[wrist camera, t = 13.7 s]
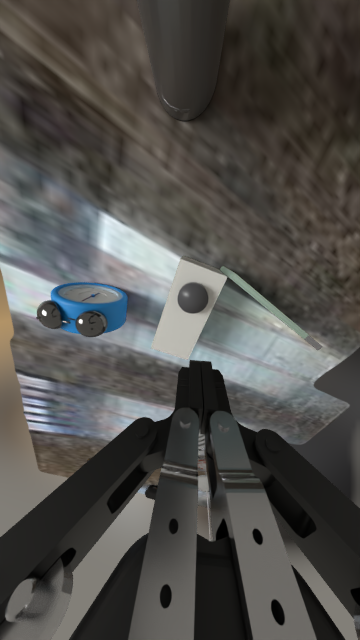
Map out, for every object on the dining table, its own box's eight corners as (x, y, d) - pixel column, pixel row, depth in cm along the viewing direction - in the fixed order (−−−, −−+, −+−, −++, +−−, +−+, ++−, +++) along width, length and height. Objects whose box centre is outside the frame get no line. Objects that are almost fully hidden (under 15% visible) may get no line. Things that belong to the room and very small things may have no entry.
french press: (217, 441, 61) (232, 556, 38) (187, 442, 62) (186, 553, 40) (215, 425, 57) (231, 543, 34) (183, 426, 58) (179, 540, 36)
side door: (219, 269, 34) (230, 278, 25) (222, 265, 33) (234, 272, 24) (287, 325, 38) (317, 350, 29) (291, 322, 38) (322, 346, 29)
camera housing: (183, 255, 33) (179, 259, 23) (217, 268, 34) (229, 278, 24) (159, 325, 41) (149, 352, 30) (188, 335, 42) (187, 365, 31)
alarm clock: (136, 291, 37) (105, 316, 24) (133, 314, 40) (104, 348, 26) (81, 278, 37) (17, 296, 23) (82, 302, 39) (25, 331, 26)
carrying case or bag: (177, 489, 81) (150, 481, 80) (177, 497, 79) (149, 490, 77) (170, 496, 86) (144, 489, 84) (169, 504, 83) (143, 498, 82)
